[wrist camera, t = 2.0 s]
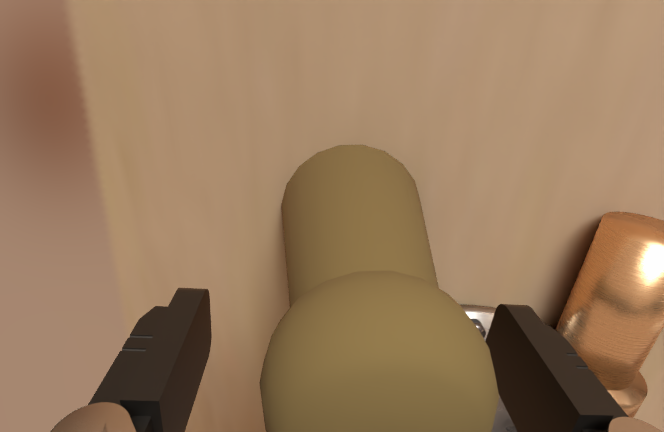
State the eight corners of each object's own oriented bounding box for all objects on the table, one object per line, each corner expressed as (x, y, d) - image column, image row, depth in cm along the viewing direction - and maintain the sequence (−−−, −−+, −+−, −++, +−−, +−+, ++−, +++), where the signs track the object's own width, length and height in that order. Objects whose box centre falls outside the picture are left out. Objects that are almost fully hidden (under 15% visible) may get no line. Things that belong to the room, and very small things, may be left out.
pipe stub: (577, 208, 18) (647, 258, 14) (668, 215, 18) (760, 266, 14) (522, 350, 21) (566, 421, 17) (599, 354, 21) (659, 425, 18)
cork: (350, 292, 19) (379, 575, 9) (252, 214, 17) (159, 464, 8) (448, 209, 18) (611, 449, 8) (350, 112, 16) (398, 264, 6)
